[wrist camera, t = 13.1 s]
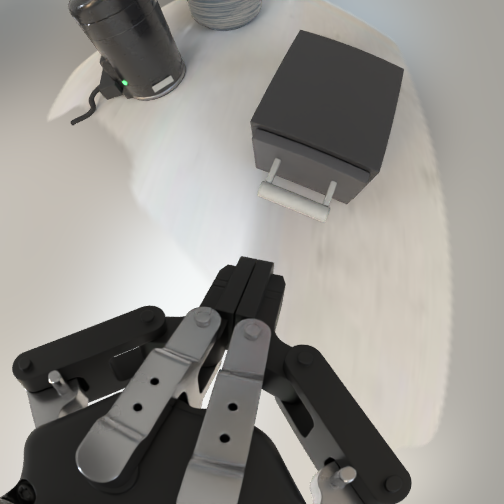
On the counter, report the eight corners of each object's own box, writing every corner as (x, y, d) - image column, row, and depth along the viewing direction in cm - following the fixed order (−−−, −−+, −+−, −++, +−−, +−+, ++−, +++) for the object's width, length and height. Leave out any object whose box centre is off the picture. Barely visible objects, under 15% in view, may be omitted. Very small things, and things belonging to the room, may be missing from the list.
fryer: (352, 199, 34) (379, 172, 24) (255, 160, 35) (250, 121, 25) (380, 109, 35) (404, 69, 25) (295, 76, 36) (300, 29, 26)
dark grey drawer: (334, 238, 33) (352, 226, 25) (241, 200, 34) (232, 177, 26) (375, 116, 34) (394, 83, 26) (294, 84, 35) (298, 46, 27)
